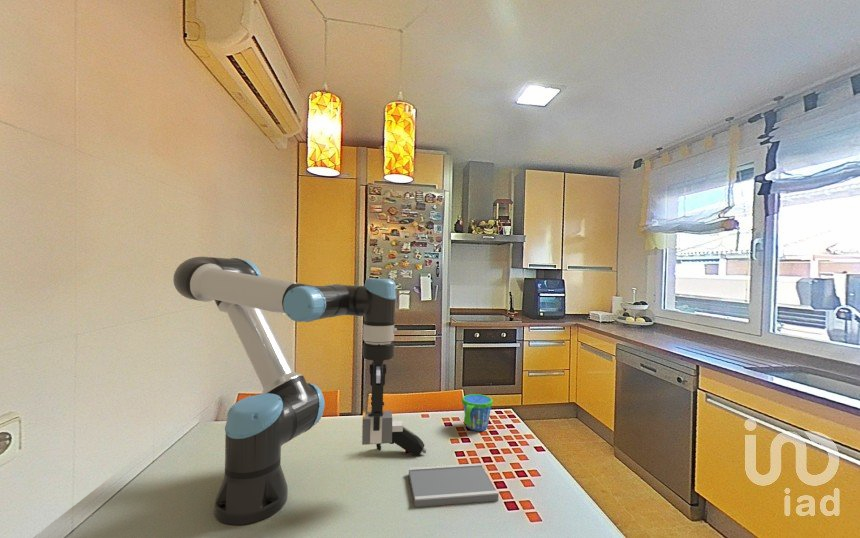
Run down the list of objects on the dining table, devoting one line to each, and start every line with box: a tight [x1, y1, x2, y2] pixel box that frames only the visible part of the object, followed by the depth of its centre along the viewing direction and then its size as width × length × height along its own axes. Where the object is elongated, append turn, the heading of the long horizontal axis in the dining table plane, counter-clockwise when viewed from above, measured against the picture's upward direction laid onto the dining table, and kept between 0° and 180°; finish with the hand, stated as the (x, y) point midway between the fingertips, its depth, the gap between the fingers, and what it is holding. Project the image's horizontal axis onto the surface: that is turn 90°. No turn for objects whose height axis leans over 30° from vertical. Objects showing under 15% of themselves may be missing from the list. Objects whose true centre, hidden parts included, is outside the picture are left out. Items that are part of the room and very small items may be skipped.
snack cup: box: [461, 393, 494, 432], centre depth 131 cm, size 16×10×10 cm
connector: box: [361, 409, 404, 446], centre depth 90 cm, size 10×4×6 cm, turn 99°
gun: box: [375, 425, 428, 457], centre depth 112 cm, size 3×16×10 cm, turn 79°
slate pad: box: [408, 463, 499, 508], centre depth 93 cm, size 20×14×2 cm
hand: (375, 437), depth 90 cm, fingers closed on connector, 4 cm apart
